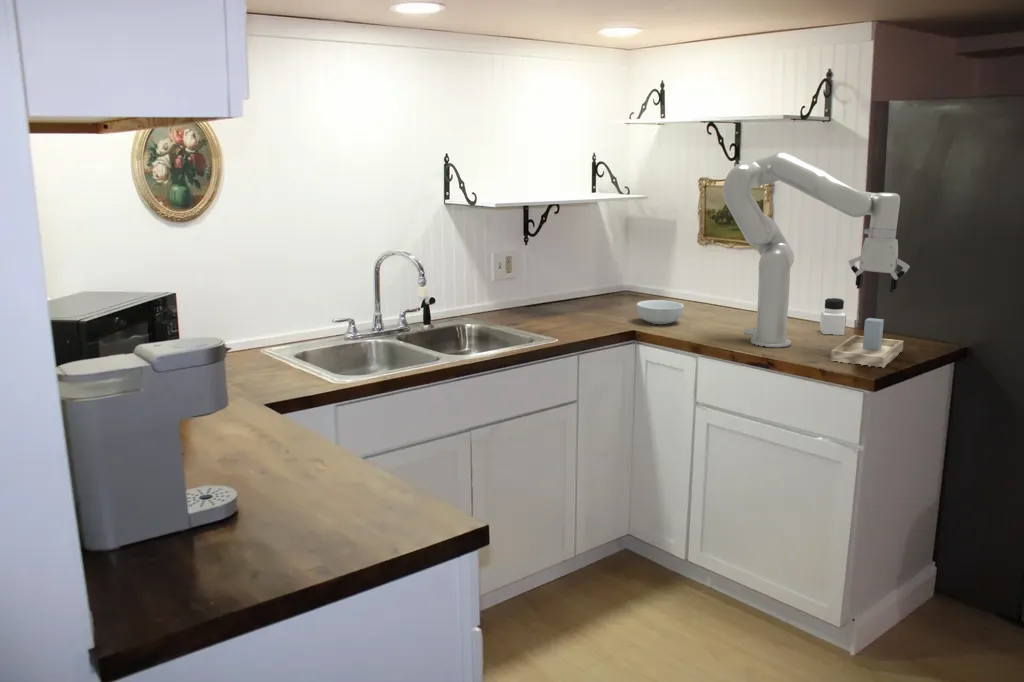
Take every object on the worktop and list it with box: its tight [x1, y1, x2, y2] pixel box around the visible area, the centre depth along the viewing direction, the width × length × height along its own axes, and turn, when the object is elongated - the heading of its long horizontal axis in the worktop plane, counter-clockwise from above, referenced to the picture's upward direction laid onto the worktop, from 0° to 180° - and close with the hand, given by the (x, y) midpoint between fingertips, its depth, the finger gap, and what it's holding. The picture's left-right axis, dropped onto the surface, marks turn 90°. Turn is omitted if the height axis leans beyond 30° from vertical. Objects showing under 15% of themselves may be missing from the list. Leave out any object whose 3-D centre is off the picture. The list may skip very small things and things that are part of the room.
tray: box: [829, 334, 904, 369], centre depth 256 cm, size 15×26×3 cm, turn 145°
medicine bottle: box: [819, 297, 847, 336], centre depth 288 cm, size 7×7×12 cm
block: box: [863, 317, 885, 350], centre depth 260 cm, size 4×4×9 cm
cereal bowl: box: [636, 299, 684, 325], centre depth 307 cm, size 17×17×7 cm
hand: (875, 289), depth 257 cm, fingers open, 9 cm apart
